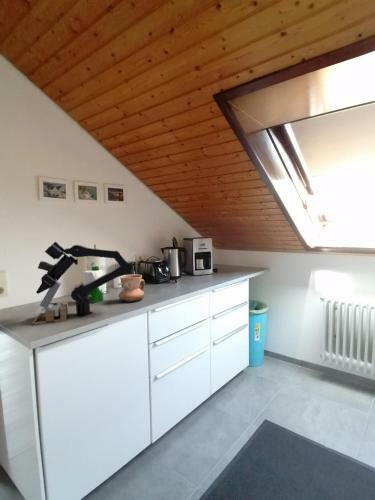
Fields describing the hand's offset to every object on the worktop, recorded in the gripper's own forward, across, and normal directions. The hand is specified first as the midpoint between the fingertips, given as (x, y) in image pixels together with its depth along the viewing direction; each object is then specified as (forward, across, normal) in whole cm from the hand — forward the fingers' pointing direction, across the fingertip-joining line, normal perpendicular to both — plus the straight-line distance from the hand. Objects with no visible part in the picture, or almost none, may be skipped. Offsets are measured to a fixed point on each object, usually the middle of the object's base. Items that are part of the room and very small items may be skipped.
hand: (38, 291), depth 135 cm
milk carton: (-7, -25, +27) cm, 37 cm away
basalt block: (+4, 0, +6) cm, 7 cm away
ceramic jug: (-22, -18, +42) cm, 51 cm away
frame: (+7, 0, +12) cm, 14 cm away
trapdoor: (+5, 0, +11) cm, 12 cm away
